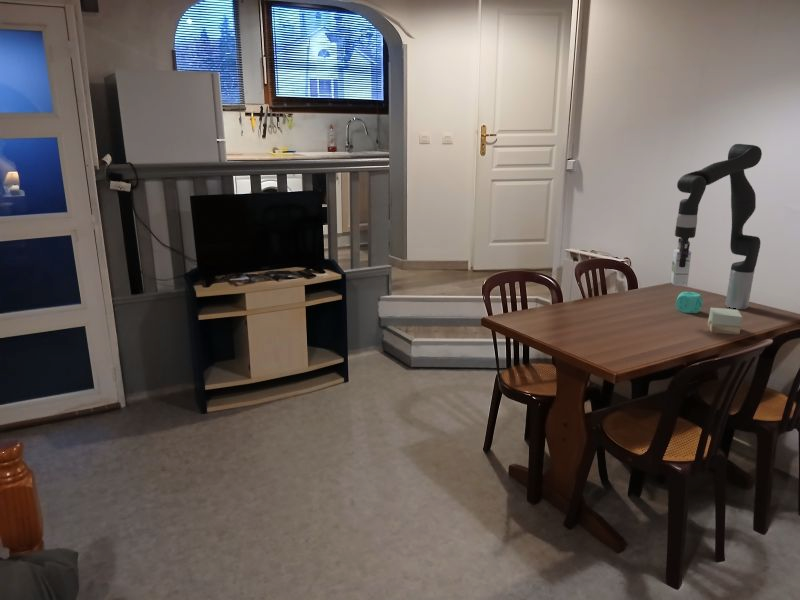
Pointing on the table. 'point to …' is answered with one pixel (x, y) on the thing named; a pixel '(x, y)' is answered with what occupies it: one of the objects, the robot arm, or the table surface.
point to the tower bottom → (724, 328)
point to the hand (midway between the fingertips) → (680, 265)
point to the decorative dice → (689, 302)
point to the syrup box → (680, 269)
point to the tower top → (725, 316)
